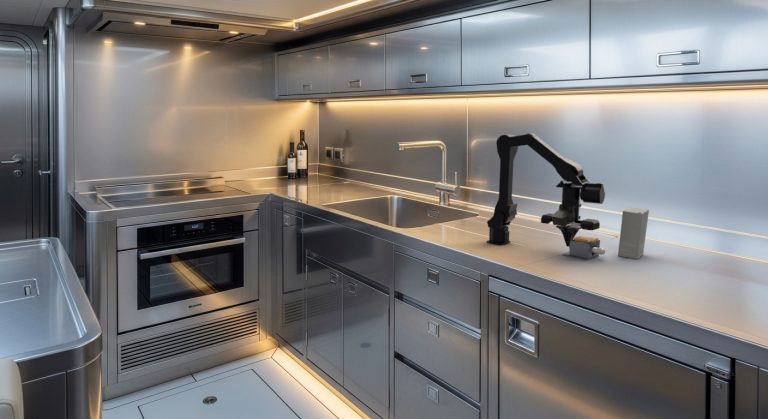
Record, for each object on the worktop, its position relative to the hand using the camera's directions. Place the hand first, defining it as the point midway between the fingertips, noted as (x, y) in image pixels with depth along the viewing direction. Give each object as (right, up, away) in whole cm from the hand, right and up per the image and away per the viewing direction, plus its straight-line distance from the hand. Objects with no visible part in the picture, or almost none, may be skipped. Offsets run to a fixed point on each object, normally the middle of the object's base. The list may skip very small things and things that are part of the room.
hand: (568, 246), depth 182 cm
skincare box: (+20, -3, -3) cm, 21 cm away
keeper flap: (+4, +2, -5) cm, 7 cm away
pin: (+5, -2, -5) cm, 7 cm away
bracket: (+3, -3, -3) cm, 5 cm away
